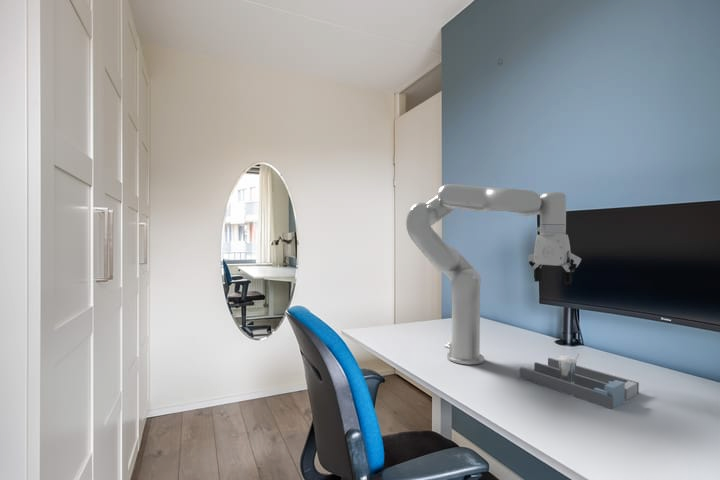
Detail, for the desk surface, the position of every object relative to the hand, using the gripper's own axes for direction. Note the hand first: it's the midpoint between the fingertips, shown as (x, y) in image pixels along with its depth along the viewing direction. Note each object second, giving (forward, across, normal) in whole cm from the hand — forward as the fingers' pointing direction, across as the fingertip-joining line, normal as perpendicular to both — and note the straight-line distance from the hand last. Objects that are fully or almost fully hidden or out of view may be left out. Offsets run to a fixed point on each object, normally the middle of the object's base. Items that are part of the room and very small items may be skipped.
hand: (552, 282), depth 120 cm
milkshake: (+28, +11, -11) cm, 32 cm away
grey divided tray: (+28, +11, -7) cm, 31 cm away
